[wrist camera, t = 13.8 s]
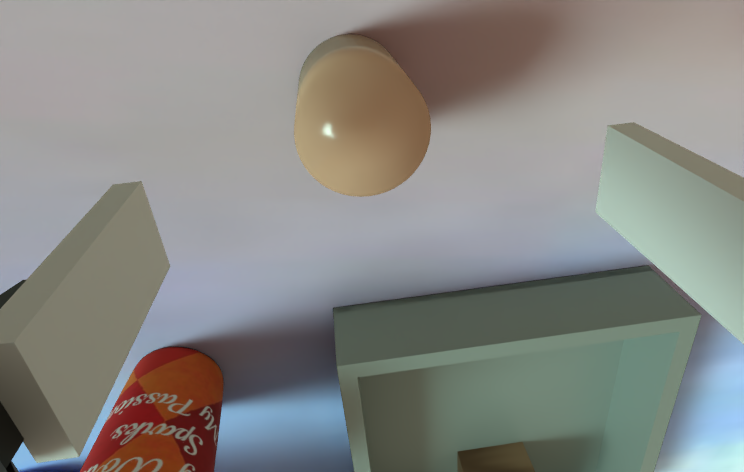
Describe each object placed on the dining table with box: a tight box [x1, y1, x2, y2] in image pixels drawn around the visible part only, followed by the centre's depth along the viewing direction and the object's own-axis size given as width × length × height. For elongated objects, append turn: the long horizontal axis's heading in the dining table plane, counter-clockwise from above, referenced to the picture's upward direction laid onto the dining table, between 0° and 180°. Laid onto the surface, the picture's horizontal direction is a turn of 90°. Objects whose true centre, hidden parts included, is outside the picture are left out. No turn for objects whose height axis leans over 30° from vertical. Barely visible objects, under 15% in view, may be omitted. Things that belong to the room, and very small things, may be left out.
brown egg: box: [294, 34, 431, 197], centre depth 21 cm, size 5×5×7 cm
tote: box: [333, 266, 701, 472], centre depth 34 cm, size 22×20×5 cm
